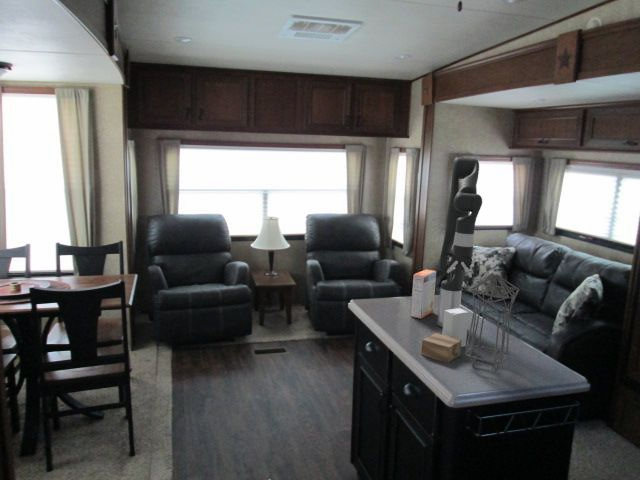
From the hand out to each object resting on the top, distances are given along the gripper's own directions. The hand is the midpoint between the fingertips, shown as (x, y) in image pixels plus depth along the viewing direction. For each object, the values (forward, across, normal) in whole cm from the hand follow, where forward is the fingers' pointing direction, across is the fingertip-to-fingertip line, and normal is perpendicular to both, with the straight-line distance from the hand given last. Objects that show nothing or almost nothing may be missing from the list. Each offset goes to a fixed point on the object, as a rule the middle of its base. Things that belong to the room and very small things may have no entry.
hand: (459, 284), depth 210 cm
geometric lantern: (+26, -18, +11) cm, 33 cm away
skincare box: (+26, 0, 0) cm, 26 cm away
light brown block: (+26, -1, +13) cm, 29 cm away
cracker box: (+26, +29, -26) cm, 47 cm away
